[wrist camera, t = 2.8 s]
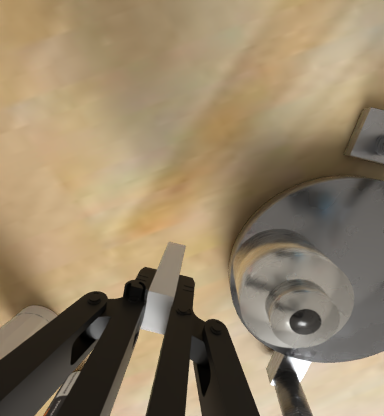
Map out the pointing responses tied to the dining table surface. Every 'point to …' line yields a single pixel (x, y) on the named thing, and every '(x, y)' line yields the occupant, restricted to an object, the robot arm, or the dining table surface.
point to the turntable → (342, 257)
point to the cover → (290, 290)
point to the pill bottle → (61, 395)
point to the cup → (23, 327)
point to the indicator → (368, 137)
